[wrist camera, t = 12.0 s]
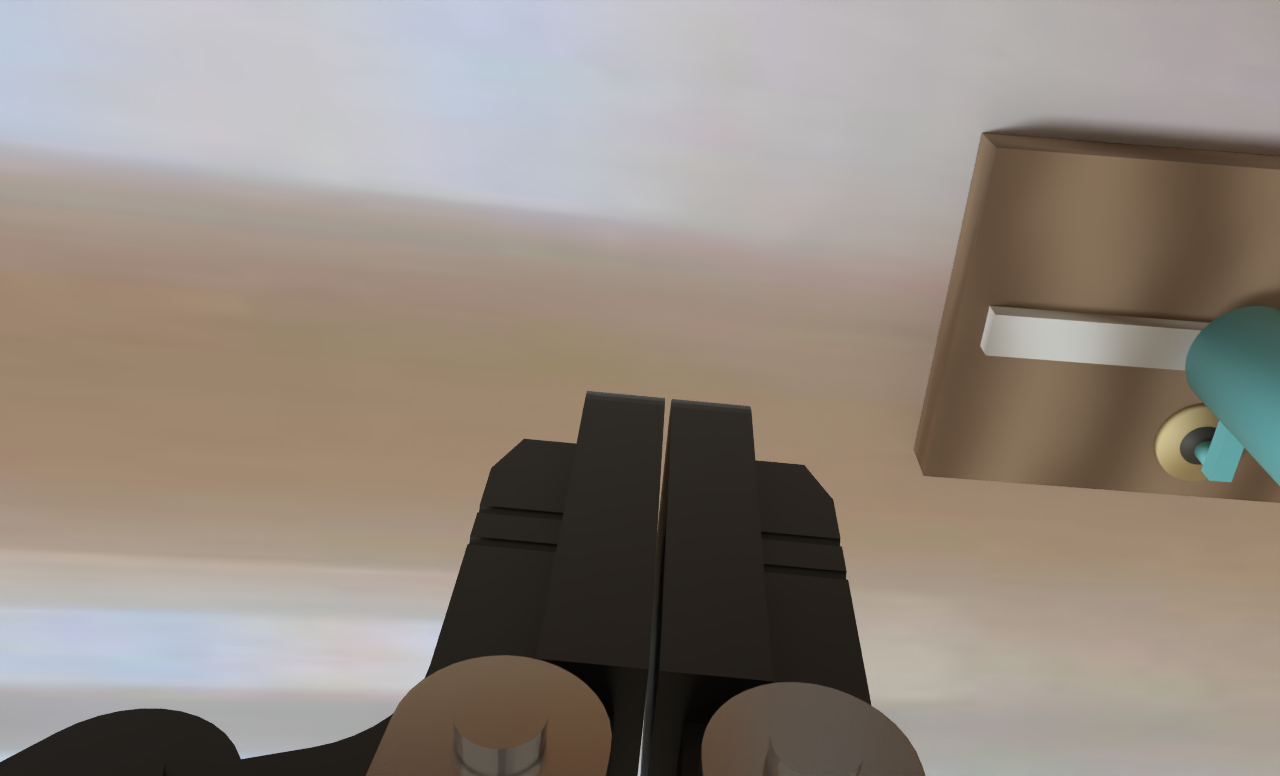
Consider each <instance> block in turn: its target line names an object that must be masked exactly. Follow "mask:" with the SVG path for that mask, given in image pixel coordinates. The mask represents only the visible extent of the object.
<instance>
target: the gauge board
mask: <svg viewBox="0 0 1280 776" xmlns="http://www.w3.org/2000/svg"><path fill="white" fill-rule="evenodd" d="M1250 306H1265V307H1271V308H1274V309H1277V310H1279V311H1280V156H1271V155H1258V154H1245V153H1232V152H1219V151H1207V150H1194V149H1181V148H1168V147H1155V146H1143V145H1130V144H1117V143H1104V142H1091V141H1079V140H1066V139H1053V138H1040V137H1027V136H1015V135H1002V134H989V133H982V135H981V140H980V144H979V149H978V154H977V158H976V163H975V168H974V172H973V177H972V182H971V186H970V191H969V196H968V200H967V205H966V210H965V214H964V219H963V223H962V228H961V233H960V237H959V242H958V247H957V251H956V256H955V261H954V265H953V270H952V275H951V279H950V284H949V289H948V293H947V298H946V303H945V307H944V312H943V317H942V321H941V326H940V331H939V335H938V340H937V344H936V349H935V354H934V358H933V363H932V368H931V372H930V377H929V382H928V386H927V391H926V396H925V400H924V405H923V410H922V414H921V419H920V424H919V428H918V433H917V438H916V442H915V447H914V452H915V454H916V457H917V459H918V462H919V465H920V467H921V470H922V473H923V475H924V476H933V477H946V478H959V479H972V480H985V481H999V482H1012V483H1025V484H1038V485H1051V486H1065V487H1078V488H1091V489H1104V490H1117V491H1131V492H1144V493H1157V494H1170V495H1183V496H1197V497H1210V498H1223V499H1236V500H1249V501H1263V502H1276V503H1280V486H1279V485H1278V484H1277V483H1276V482H1275V481H1274V479H1273V478H1272V477H1271V476H1270V475H1269V474H1268V473H1267V472H1266V471H1265V470H1264V469H1263V467H1262V466H1261V465H1260V464H1259V463H1258V462H1257V461H1256V460H1255V459H1254V458H1253V457H1252V455H1251V454H1250V453H1249V452H1248V451H1247V450H1246V449H1245V448H1244V450H1243V452H1242V455H1241V458H1240V460H1239V463H1238V466H1237V468H1236V471H1235V474H1234V476H1233V479H1232V482H1221V481H1209V480H1208V478H1207V477H1206V476H1205V475H1204V473H1203V472H1202V471H1201V470H1202V467H1203V465H1202V463H1201V462H1200V461H1199V460H1198V459H1197V457H1196V456H1195V454H1194V451H1195V448H1196V447H1197V445H1199V444H1200V443H1202V442H1205V441H1210V442H1212V439H1213V436H1214V433H1215V431H1216V428H1217V425H1218V422H1219V419H1218V418H1217V417H1216V416H1215V415H1214V414H1213V413H1212V412H1211V411H1210V410H1209V408H1208V407H1207V406H1206V405H1205V404H1204V403H1203V402H1202V401H1201V400H1200V399H1199V398H1198V396H1197V395H1196V394H1195V393H1194V392H1193V391H1192V389H1191V388H1190V386H1189V384H1188V381H1187V378H1186V373H1185V364H1186V358H1187V354H1188V351H1189V349H1190V347H1191V345H1192V343H1193V341H1194V340H1195V338H1196V337H1197V336H1198V334H1199V333H1200V332H1201V331H1202V330H1203V329H1204V328H1205V327H1206V326H1207V325H1208V324H1209V323H1211V322H1212V321H1214V320H1215V319H1216V318H1218V317H1220V316H1222V315H1223V314H1225V313H1228V312H1230V311H1233V310H1236V309H1239V308H1243V307H1250Z"/></svg>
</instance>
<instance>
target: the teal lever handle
mask: <svg viewBox="0 0 1280 776" xmlns="http://www.w3.org/2000/svg"><path fill="white" fill-rule="evenodd" d="M1185 373H1186V378H1187V381H1188V384H1189V386H1190V388H1191V389H1192V391H1193V392H1194V393H1195V394H1196V395H1197V396H1198V398H1199V399H1200V400H1201V401H1202V402H1203V403H1204V404H1205V405H1206V406H1207V407H1208V408H1209V410H1210V411H1211V412H1212V413H1213V414H1214V415H1215V416H1216V417H1217V418H1218V419H1219V422H1218V425H1217V428H1216V431H1215V433H1214V436H1213V439H1212V442H1210V441H1205V442H1202V443H1200V444H1199V445H1197V447H1196V448H1195V451H1194V454H1195V456H1196V457H1197V459H1198V460H1199V461H1200V462H1201V463H1202V465H1203V467H1202V470H1201V471H1202V472H1203V473H1204V475H1205V476H1206V477H1207V478H1208V480H1209V481H1221V482H1232V479H1233V476H1234V474H1235V471H1236V468H1237V466H1238V463H1239V460H1240V458H1241V455H1242V452H1243V450H1244V448H1245V449H1246V450H1247V451H1248V452H1249V453H1250V454H1251V455H1252V457H1253V458H1254V459H1255V460H1256V461H1257V462H1258V463H1259V464H1260V465H1261V466H1262V467H1263V469H1264V470H1265V471H1266V472H1267V473H1268V474H1269V475H1270V476H1271V477H1272V478H1273V479H1274V481H1275V482H1276V483H1277V484H1278V485H1279V486H1280V311H1279V310H1277V309H1274V308H1271V307H1265V306H1250V307H1243V308H1239V309H1236V310H1233V311H1230V312H1228V313H1225V314H1223V315H1222V316H1220V317H1218V318H1216V319H1215V320H1214V321H1212V322H1211V323H1209V324H1208V325H1207V326H1206V327H1205V328H1204V329H1203V330H1202V331H1201V332H1200V333H1199V334H1198V336H1197V337H1196V338H1195V340H1194V341H1193V343H1192V345H1191V347H1190V349H1189V351H1188V354H1187V358H1186V364H1185Z"/></svg>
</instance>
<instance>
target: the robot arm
mask: <svg viewBox="0 0 1280 776" xmlns="http://www.w3.org/2000/svg"><path fill="white" fill-rule="evenodd" d="M664 409H665V398H657V397H647V396H636V395H625V394H614V393H603V392H592V391H587V393H586V398H585V403H584V408H583V413H582V418H581V424H580V429H579V434H578V439H577V444H574V443H563V442H552V441H542V440H531V439H523V440H522V441H521V442H520V443H519V444H518V445H517V446H516V447H514V448H513V449H512V450H511V451H510V452H509V453H508V454H507V455H506V456H504V457H503V458H502V459H501V460H500V461H499V462H498V463H497V464H495V465H494V466H493V467H492V468H491V471H490V474H489V477H488V481H487V484H486V487H485V490H484V493H483V497H482V500H481V503H480V510H479V513H477V516H476V519H475V522H474V526H473V529H472V532H471V535H470V543H469V544H468V545H467V548H466V551H465V555H464V558H463V561H462V564H461V568H460V571H459V574H458V577H457V580H456V584H455V587H454V590H453V593H452V597H451V600H450V603H449V606H448V610H447V613H446V616H445V619H444V622H443V626H442V629H441V632H440V635H439V639H438V642H437V645H436V648H435V651H434V655H433V658H432V661H431V664H430V667H429V669H428V672H427V674H426V676H425V679H423V680H422V681H421V682H419V683H418V684H417V685H416V686H415V687H414V688H412V689H411V690H410V691H409V692H408V693H407V695H406V696H405V697H404V698H403V699H402V701H401V702H400V703H399V705H398V706H397V708H396V710H395V712H394V713H393V714H392V715H391V716H389V717H388V718H386V719H385V720H383V721H381V722H380V723H378V724H377V725H375V726H373V727H371V728H369V729H367V730H365V731H363V732H361V733H359V734H356V735H354V736H352V737H349V738H346V739H343V740H340V741H337V742H334V743H330V744H325V745H321V746H316V747H312V748H306V749H300V750H294V751H288V752H282V753H276V754H270V755H264V756H258V757H252V758H246V759H240V756H239V754H238V752H237V750H236V747H235V745H234V744H233V743H232V741H231V740H230V739H229V738H228V736H227V735H226V734H225V733H224V732H223V731H221V730H220V729H219V728H217V727H216V726H215V725H214V724H212V723H210V722H208V721H206V720H204V719H202V718H200V717H198V716H195V715H191V714H188V713H185V712H181V711H174V710H167V709H134V710H125V711H118V712H114V713H110V714H105V715H101V716H97V717H94V718H91V719H88V720H85V721H82V722H79V723H77V724H74V725H72V726H70V727H68V728H66V729H64V730H61V731H59V732H57V733H55V734H53V735H51V736H49V737H47V738H45V739H44V740H42V741H40V742H38V743H36V744H34V745H32V746H30V747H28V748H26V749H25V750H23V751H21V752H19V753H17V754H15V755H13V756H11V757H9V758H7V759H6V760H4V761H2V762H0V776H637V775H638V765H639V756H640V747H641V738H642V728H643V742H642V758H641V775H640V776H925V773H924V770H923V767H922V764H921V762H920V759H919V757H918V755H917V752H916V751H915V749H914V747H913V746H912V744H911V743H910V741H909V740H908V738H907V737H906V736H905V735H904V733H903V732H902V731H901V730H900V729H899V728H898V727H897V726H896V725H895V724H894V723H893V722H892V721H891V720H890V719H889V718H887V717H886V716H885V715H884V714H883V713H881V712H880V711H878V710H877V709H875V708H874V707H872V706H871V701H870V695H869V690H868V685H867V679H866V674H865V668H864V663H863V658H862V652H861V647H860V641H859V636H858V631H857V625H856V620H855V615H854V609H853V604H852V598H851V593H850V588H849V582H848V580H846V566H845V561H844V555H843V550H842V547H841V546H840V534H839V528H838V523H837V518H836V512H835V507H834V502H833V499H832V498H831V497H830V496H829V494H828V493H827V492H826V491H825V490H824V488H823V487H822V486H821V485H820V484H819V482H818V481H817V480H816V479H815V478H814V476H813V475H812V474H811V473H810V472H809V470H808V469H807V468H806V467H805V466H804V465H798V464H788V463H777V462H766V461H755V451H754V438H753V426H752V413H751V408H750V406H741V405H731V404H720V403H709V402H698V401H687V400H676V399H672V401H671V408H670V417H669V426H668V435H667V445H666V454H665V464H664V473H663V483H662V492H661V502H660V511H659V521H658V509H659V493H660V476H661V459H662V442H663V426H664ZM657 526H658V530H657ZM643 719H644V726H643Z"/></svg>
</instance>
